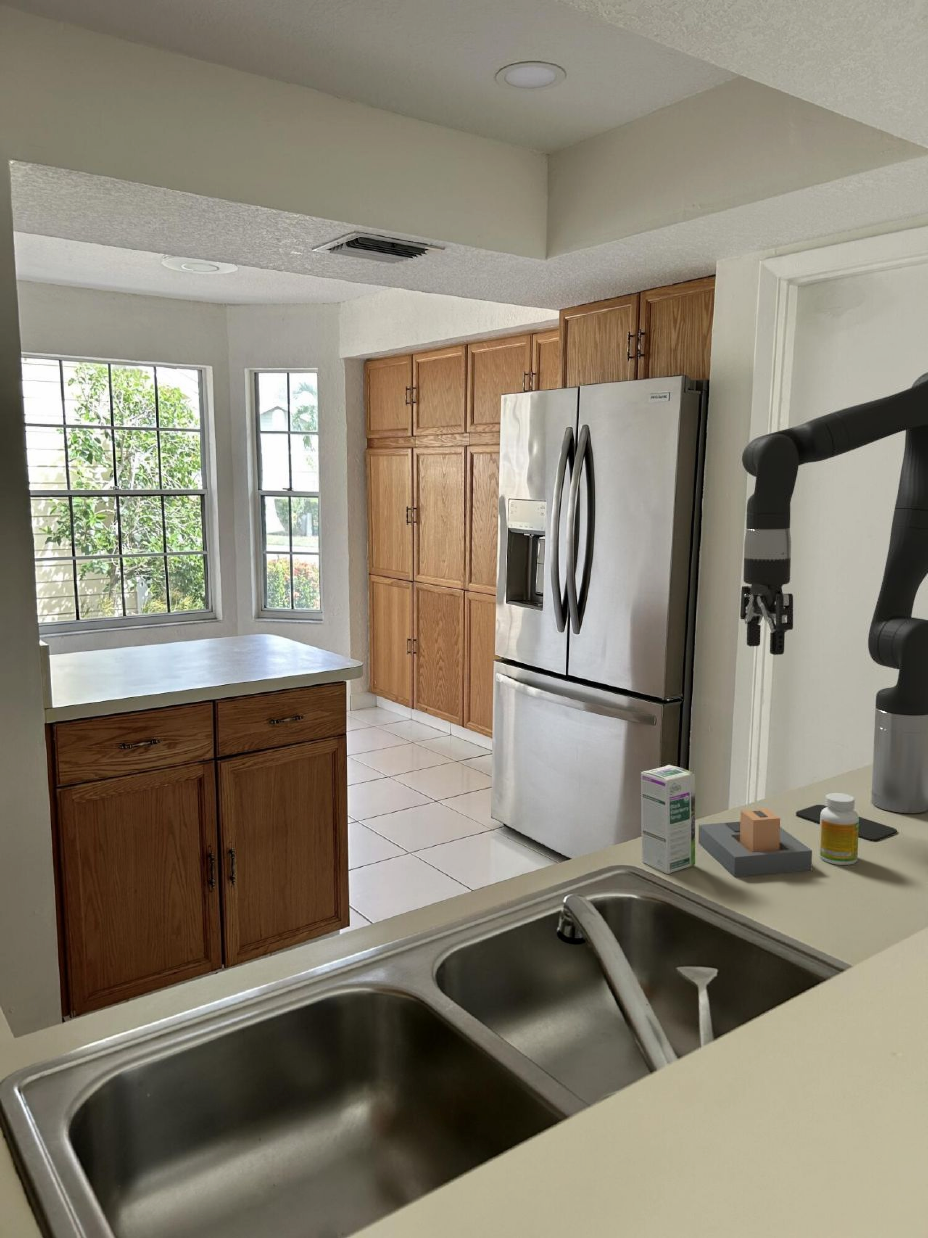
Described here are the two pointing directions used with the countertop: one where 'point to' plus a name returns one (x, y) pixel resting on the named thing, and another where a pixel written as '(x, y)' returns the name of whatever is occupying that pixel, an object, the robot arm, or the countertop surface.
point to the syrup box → (668, 818)
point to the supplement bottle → (839, 830)
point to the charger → (759, 830)
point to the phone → (866, 827)
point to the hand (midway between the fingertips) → (764, 650)
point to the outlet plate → (741, 862)
